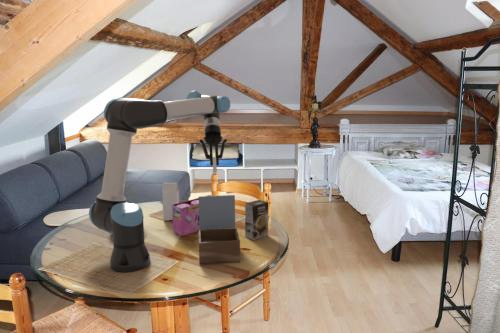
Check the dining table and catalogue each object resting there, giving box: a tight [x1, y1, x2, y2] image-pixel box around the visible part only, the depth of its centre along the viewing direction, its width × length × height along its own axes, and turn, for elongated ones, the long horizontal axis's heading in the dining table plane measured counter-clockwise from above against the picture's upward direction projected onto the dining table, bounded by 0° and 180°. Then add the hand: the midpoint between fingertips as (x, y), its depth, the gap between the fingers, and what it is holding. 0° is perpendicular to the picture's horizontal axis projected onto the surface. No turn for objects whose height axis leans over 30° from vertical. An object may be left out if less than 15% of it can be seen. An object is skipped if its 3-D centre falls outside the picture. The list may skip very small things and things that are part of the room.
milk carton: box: [161, 182, 180, 222], centre depth 211 cm, size 7×7×19 cm
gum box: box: [172, 194, 212, 237], centre depth 200 cm, size 24×8×14 cm, turn 134°
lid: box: [198, 194, 236, 230], centre depth 174 cm, size 14×15×1 cm
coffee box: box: [244, 199, 269, 241], centre depth 188 cm, size 9×6×16 cm
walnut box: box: [198, 227, 241, 266], centre depth 168 cm, size 14×16×9 cm
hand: (214, 170), depth 184 cm, fingers closed
